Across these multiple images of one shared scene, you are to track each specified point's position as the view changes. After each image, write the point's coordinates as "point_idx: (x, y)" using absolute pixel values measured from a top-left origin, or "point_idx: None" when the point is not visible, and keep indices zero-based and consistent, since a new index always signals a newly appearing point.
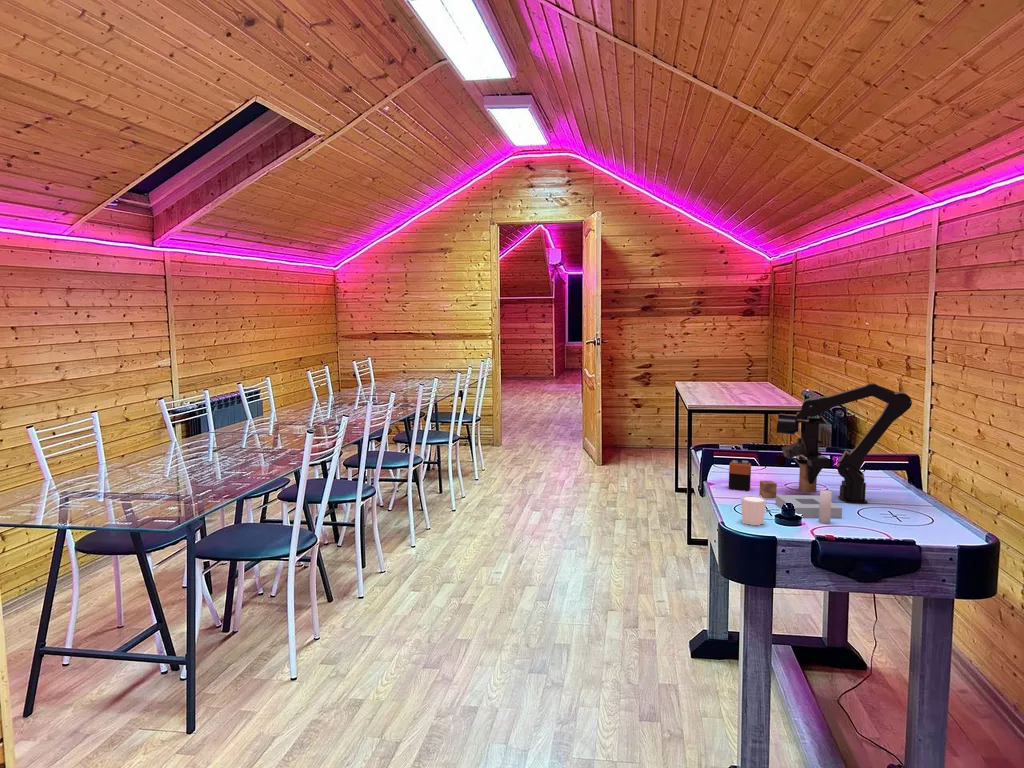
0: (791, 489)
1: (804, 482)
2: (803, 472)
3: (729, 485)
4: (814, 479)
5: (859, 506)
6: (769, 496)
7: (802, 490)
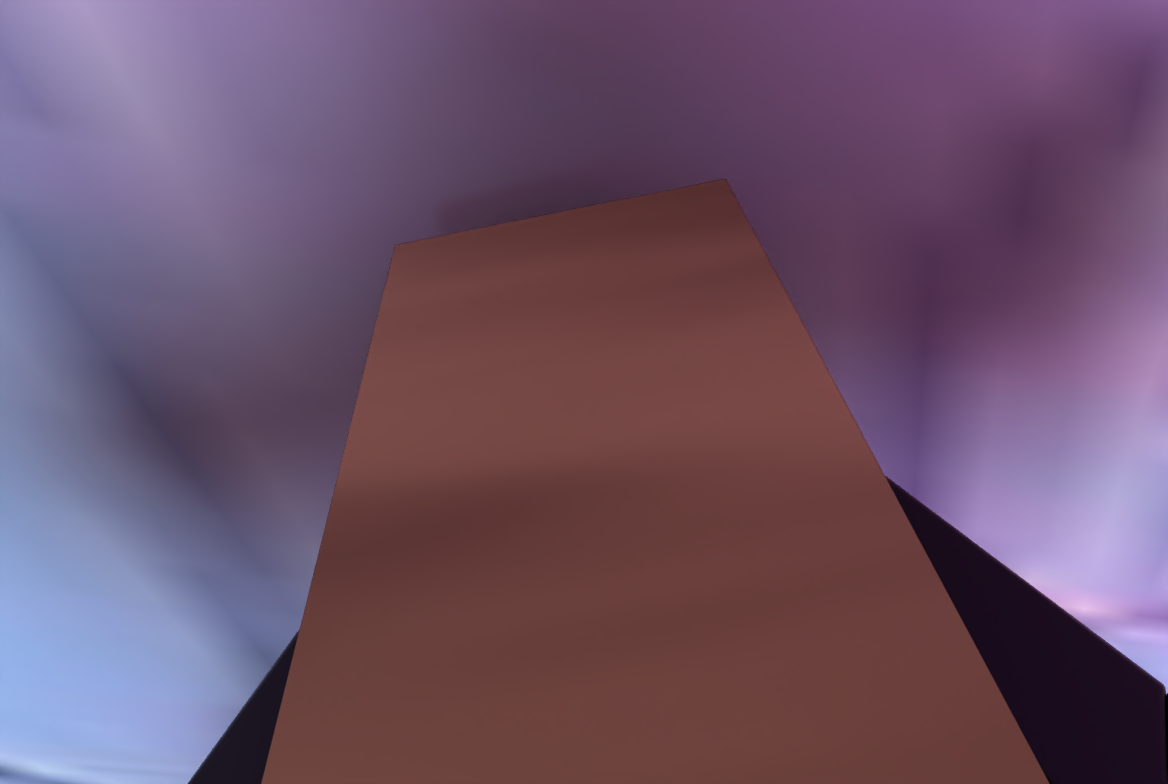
0: (1134, 43)
1: (352, 430)
2: (438, 767)
3: None
4: None
5: (145, 774)
6: None
7: (486, 241)
